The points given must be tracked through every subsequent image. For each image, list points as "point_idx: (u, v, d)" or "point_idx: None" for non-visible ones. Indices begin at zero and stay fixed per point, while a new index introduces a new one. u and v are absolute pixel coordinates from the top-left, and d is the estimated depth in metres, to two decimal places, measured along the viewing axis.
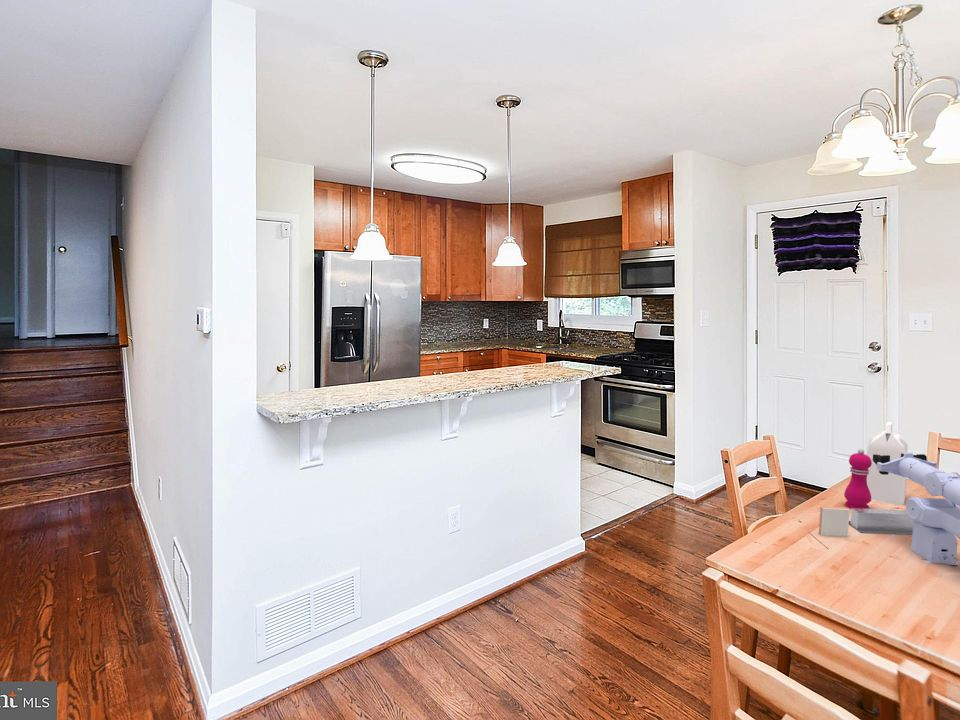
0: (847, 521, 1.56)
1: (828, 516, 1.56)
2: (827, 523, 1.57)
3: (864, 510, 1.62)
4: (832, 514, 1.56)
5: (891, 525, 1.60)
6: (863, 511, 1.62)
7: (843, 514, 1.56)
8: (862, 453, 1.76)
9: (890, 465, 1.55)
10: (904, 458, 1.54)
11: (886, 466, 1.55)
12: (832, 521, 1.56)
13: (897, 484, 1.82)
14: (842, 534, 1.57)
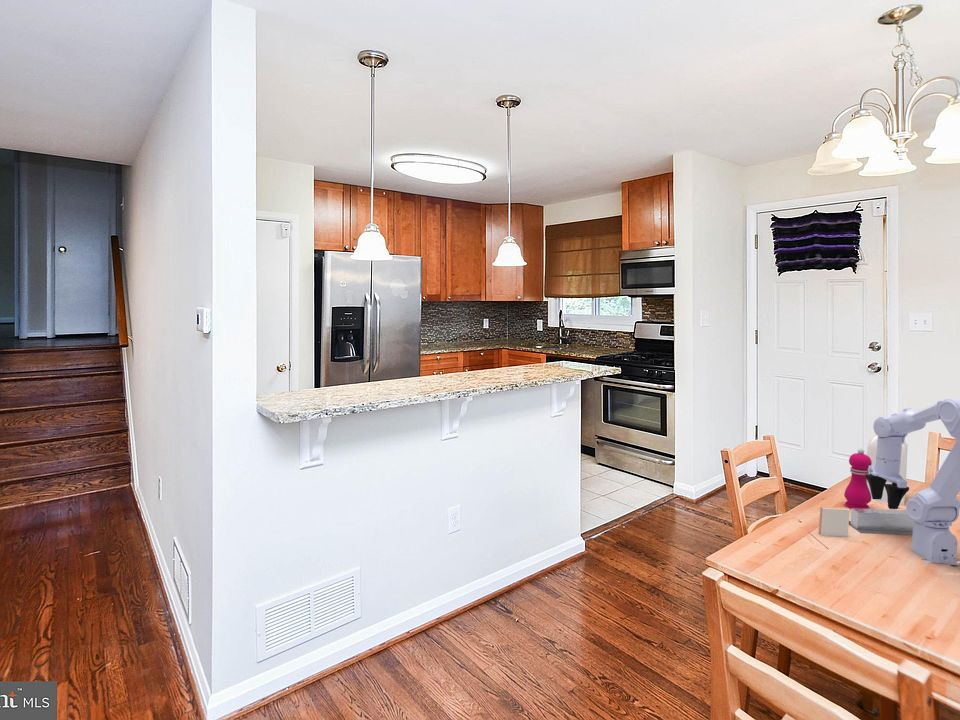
0: (847, 521, 1.56)
1: (828, 516, 1.56)
2: (827, 523, 1.57)
3: (864, 510, 1.62)
4: (832, 514, 1.56)
5: (891, 525, 1.60)
6: (863, 511, 1.62)
7: (843, 514, 1.56)
8: (862, 453, 1.76)
9: (895, 478, 1.56)
10: (880, 473, 1.60)
11: None
12: (832, 521, 1.56)
13: None
14: (842, 534, 1.57)
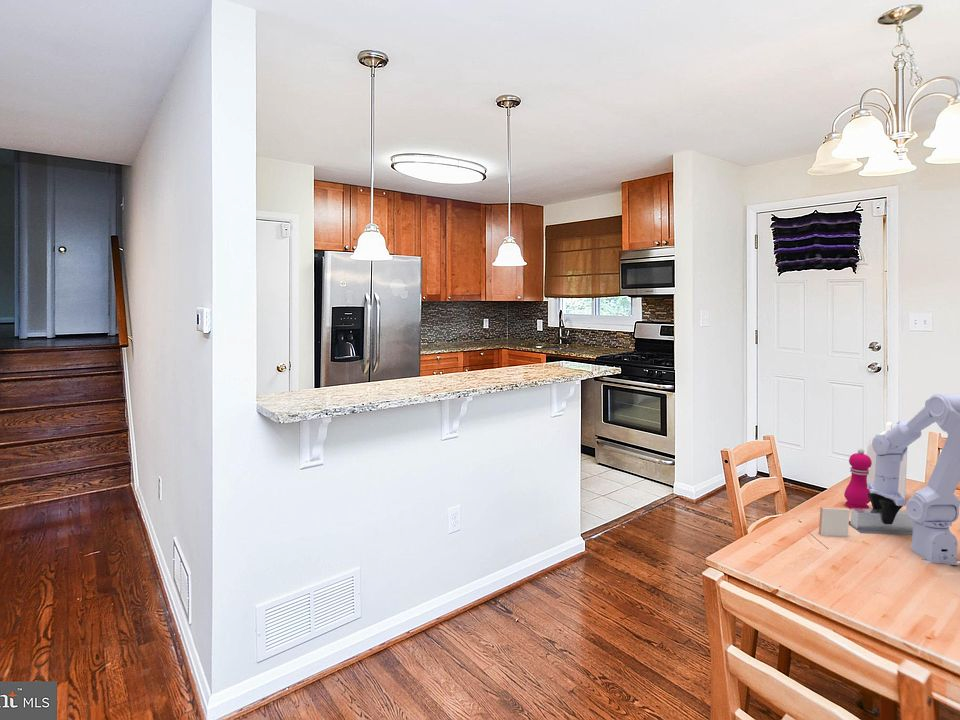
0: (847, 521, 1.56)
1: (828, 516, 1.56)
2: (827, 523, 1.57)
3: (864, 510, 1.62)
4: (832, 514, 1.56)
5: (891, 525, 1.60)
6: (863, 511, 1.62)
7: (843, 514, 1.56)
8: (862, 453, 1.76)
9: (893, 496, 1.57)
10: (879, 490, 1.60)
11: (897, 498, 1.56)
12: (832, 521, 1.56)
13: None
14: (842, 534, 1.57)
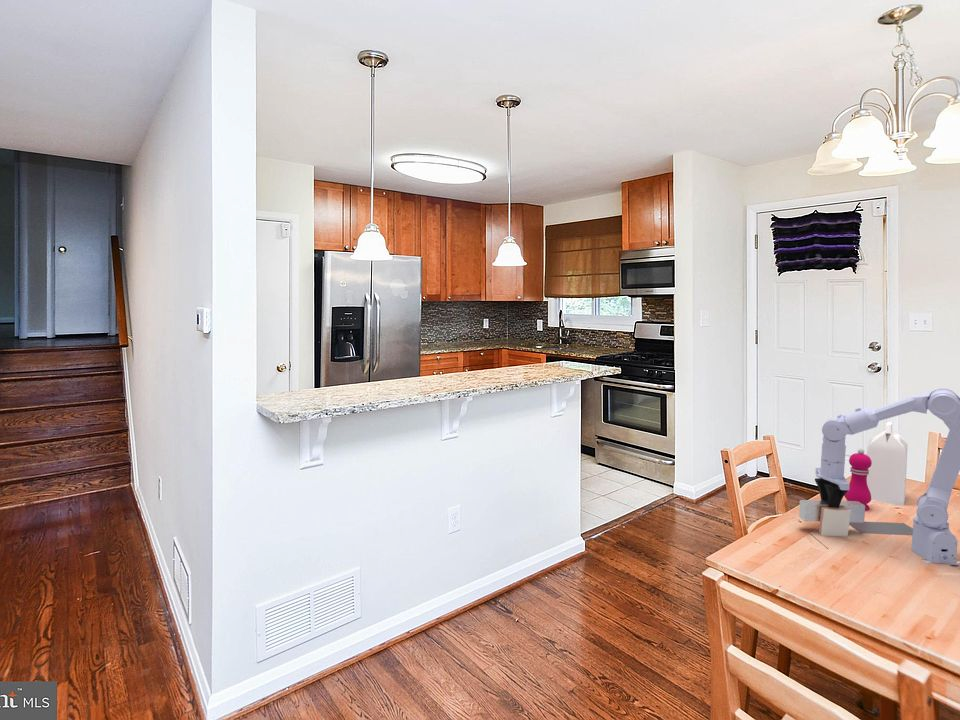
0: (848, 522, 1.56)
1: (829, 517, 1.56)
2: (828, 523, 1.56)
3: (812, 502, 1.60)
4: (833, 515, 1.56)
5: None
6: (810, 502, 1.59)
7: (844, 515, 1.55)
8: (862, 453, 1.76)
9: None
10: (824, 475, 1.58)
11: (841, 482, 1.53)
12: (833, 522, 1.56)
13: (897, 484, 1.82)
14: (842, 534, 1.56)
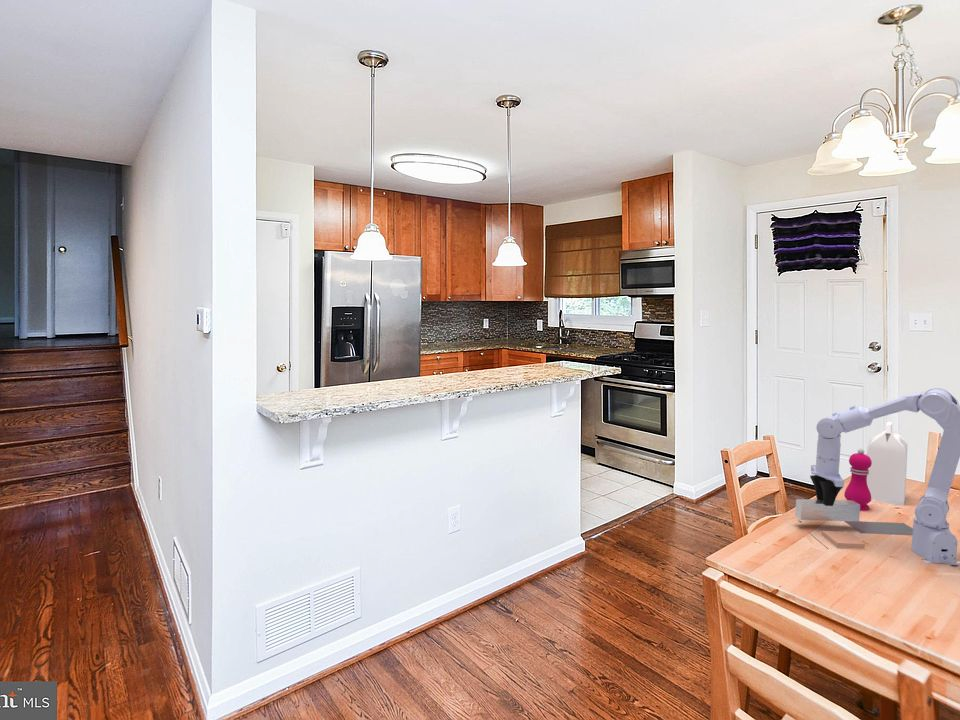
0: None
1: None
2: None
3: (808, 501, 1.62)
4: None
5: (834, 516, 1.61)
6: (807, 502, 1.62)
7: None
8: (862, 453, 1.76)
9: (833, 477, 1.57)
10: (820, 472, 1.60)
11: (836, 479, 1.56)
12: None
13: (897, 484, 1.82)
14: None
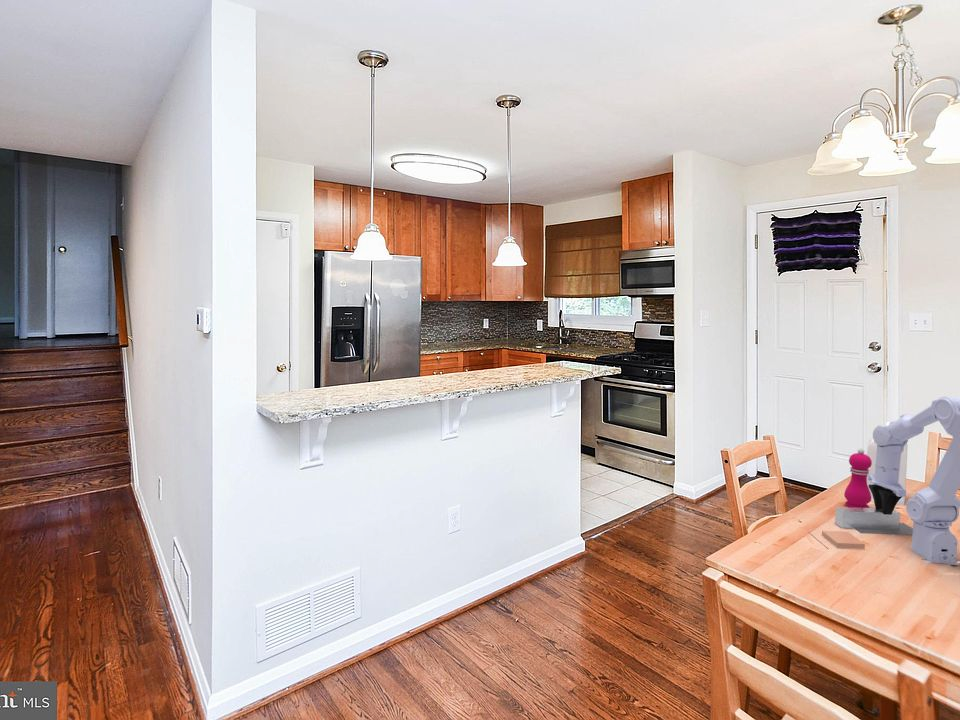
0: None
1: None
2: None
3: (848, 509, 1.63)
4: None
5: (874, 524, 1.61)
6: (847, 510, 1.63)
7: None
8: (862, 453, 1.76)
9: (894, 487, 1.56)
10: (879, 481, 1.60)
11: (897, 489, 1.55)
12: None
13: None
14: None
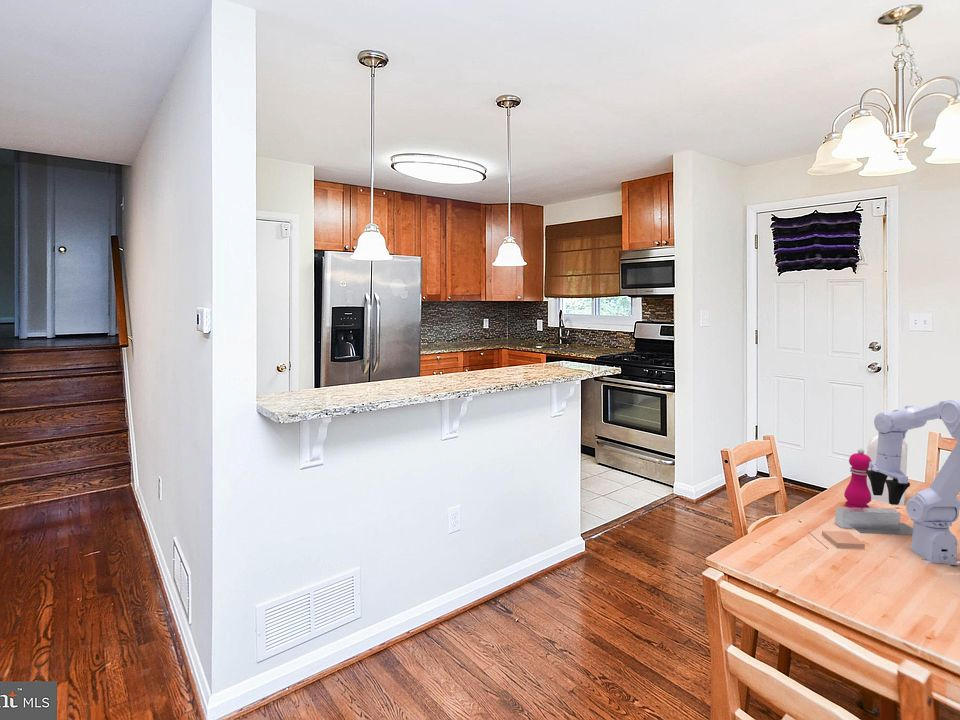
0: None
1: None
2: None
3: (848, 509, 1.63)
4: None
5: (874, 524, 1.61)
6: (847, 510, 1.63)
7: None
8: (862, 453, 1.76)
9: (896, 474, 1.56)
10: (881, 469, 1.59)
11: (899, 475, 1.55)
12: None
13: None
14: None
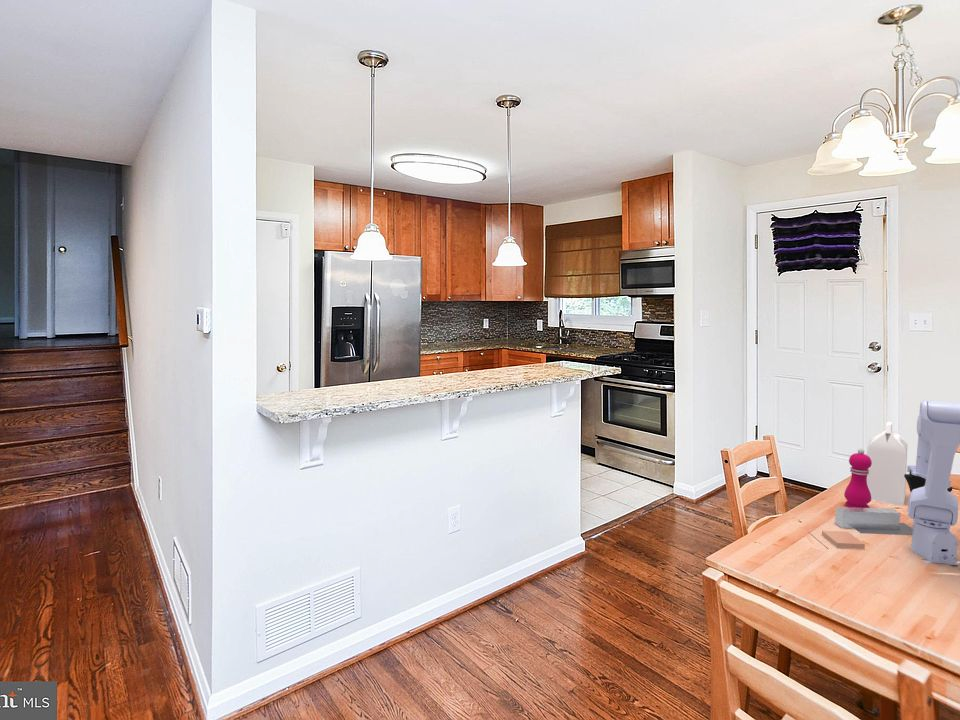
0: None
1: None
2: None
3: (848, 509, 1.63)
4: None
5: (874, 524, 1.61)
6: (847, 510, 1.63)
7: None
8: (862, 453, 1.76)
9: None
10: (921, 473, 1.55)
11: None
12: None
13: (897, 484, 1.82)
14: None
